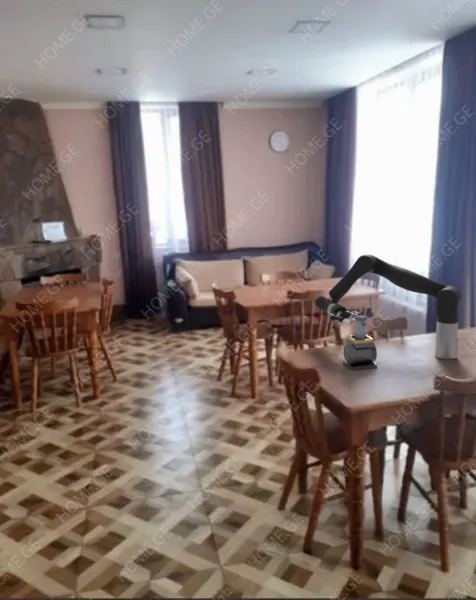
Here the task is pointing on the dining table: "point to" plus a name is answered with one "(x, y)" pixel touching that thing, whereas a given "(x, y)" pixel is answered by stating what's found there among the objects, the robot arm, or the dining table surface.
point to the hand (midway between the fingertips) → (350, 319)
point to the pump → (360, 327)
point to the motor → (360, 353)
